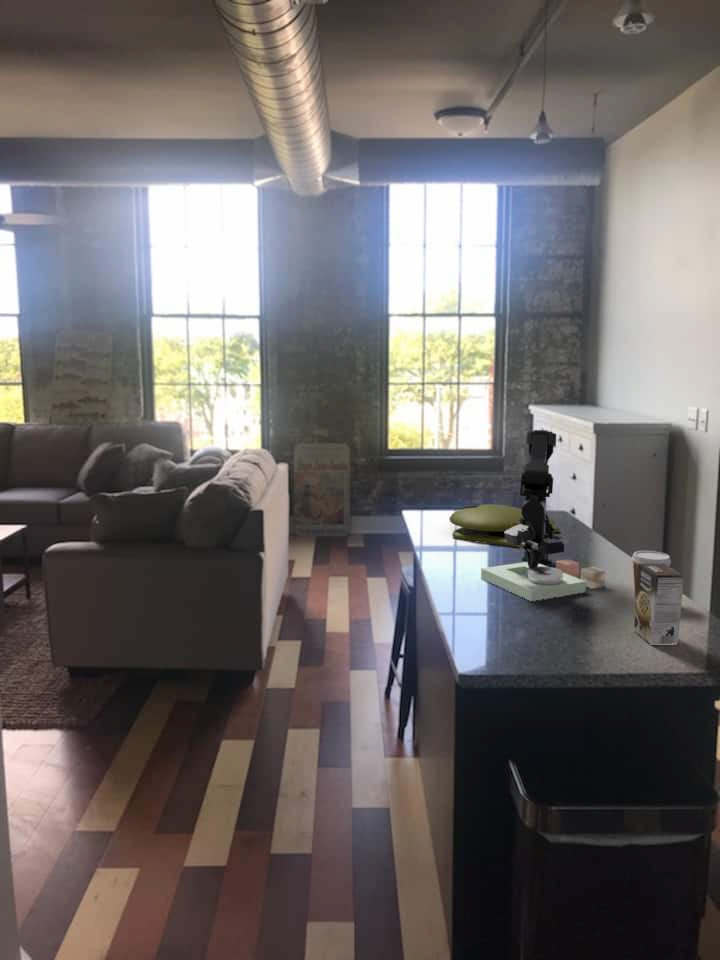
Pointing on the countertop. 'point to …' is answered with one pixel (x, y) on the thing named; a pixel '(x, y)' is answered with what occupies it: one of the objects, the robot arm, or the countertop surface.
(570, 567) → the terracotta cube
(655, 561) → the disposable coffee cup
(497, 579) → the pocket deck
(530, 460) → the robot arm
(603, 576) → the birch cube
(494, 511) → the spaceship
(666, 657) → the countertop surface
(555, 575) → the metal puck
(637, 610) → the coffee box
